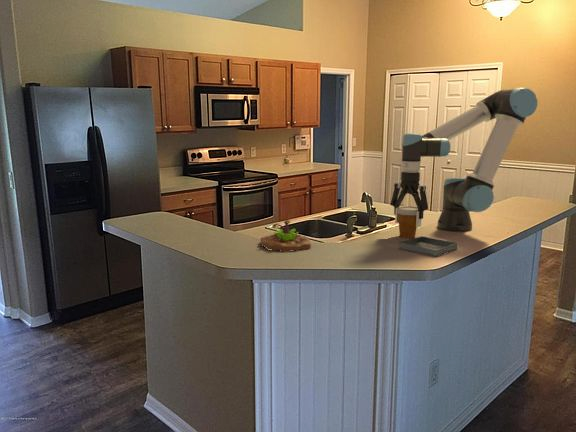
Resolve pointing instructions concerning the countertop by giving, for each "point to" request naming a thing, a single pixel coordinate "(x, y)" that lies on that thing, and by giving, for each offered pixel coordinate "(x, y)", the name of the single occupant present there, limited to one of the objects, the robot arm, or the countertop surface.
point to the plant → (285, 239)
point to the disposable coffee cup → (407, 221)
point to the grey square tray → (428, 246)
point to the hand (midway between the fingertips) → (407, 224)
